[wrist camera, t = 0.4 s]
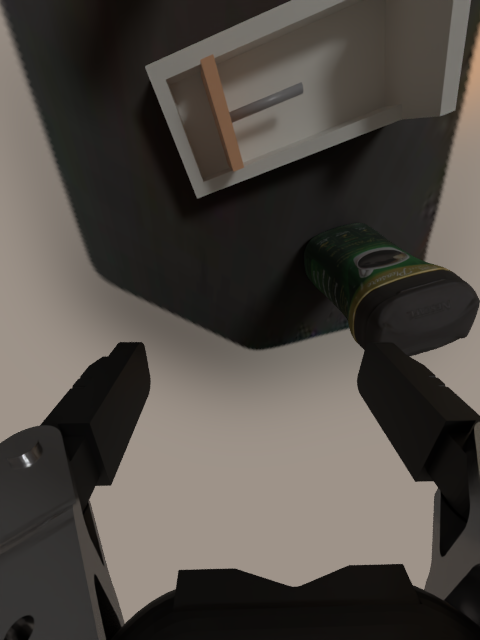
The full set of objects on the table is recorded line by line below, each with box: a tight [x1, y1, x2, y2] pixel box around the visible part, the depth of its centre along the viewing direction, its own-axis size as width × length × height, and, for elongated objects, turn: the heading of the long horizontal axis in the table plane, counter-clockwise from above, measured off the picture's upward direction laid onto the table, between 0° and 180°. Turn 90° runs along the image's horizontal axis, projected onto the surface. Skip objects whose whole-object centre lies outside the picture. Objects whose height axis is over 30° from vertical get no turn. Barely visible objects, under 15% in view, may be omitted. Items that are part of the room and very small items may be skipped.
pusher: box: [200, 54, 303, 172], centre depth 23 cm, size 8×7×6 cm
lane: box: [145, 0, 471, 199], centre depth 22 cm, size 22×10×9 cm, turn 108°
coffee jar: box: [304, 223, 480, 356], centre depth 29 cm, size 10×8×19 cm
